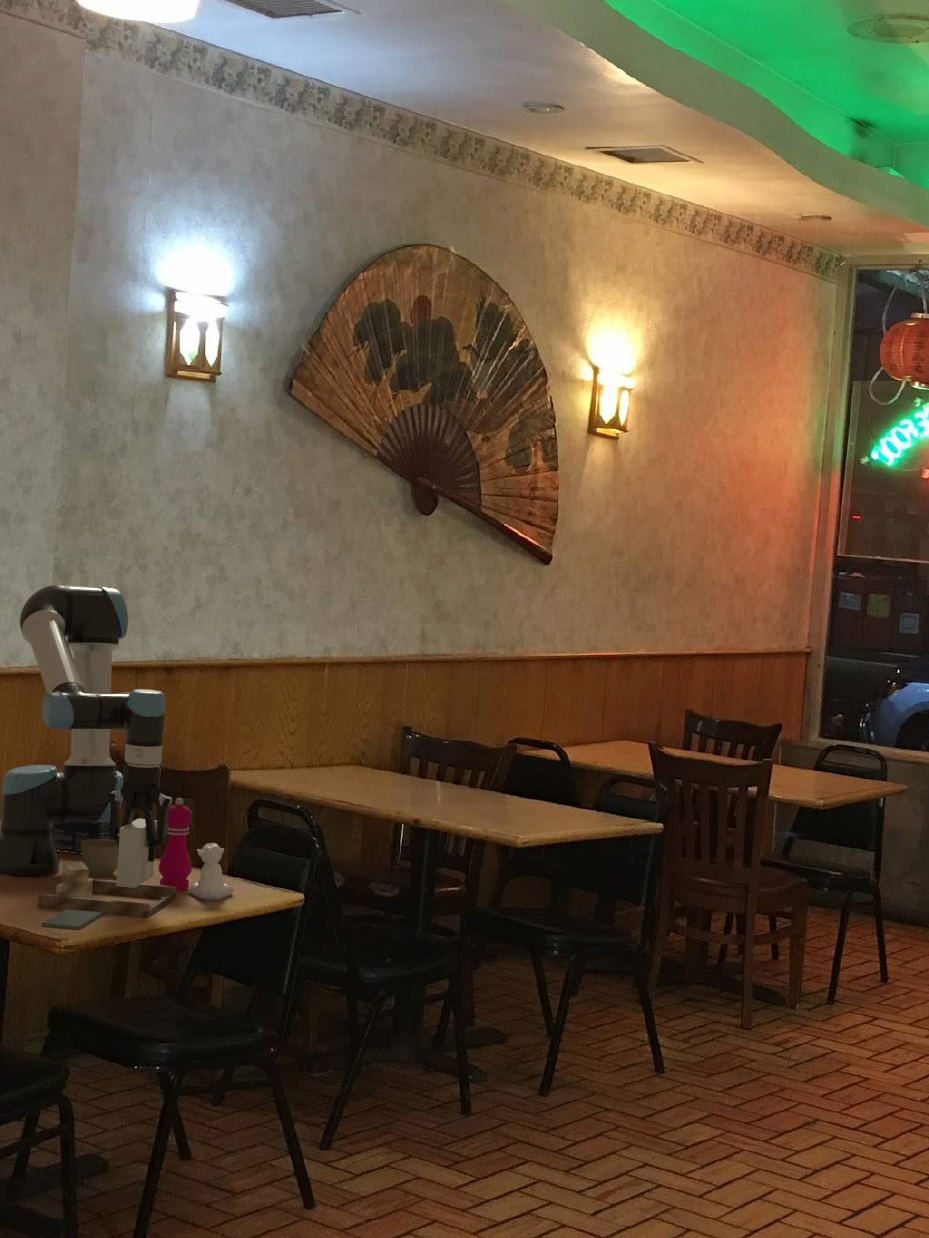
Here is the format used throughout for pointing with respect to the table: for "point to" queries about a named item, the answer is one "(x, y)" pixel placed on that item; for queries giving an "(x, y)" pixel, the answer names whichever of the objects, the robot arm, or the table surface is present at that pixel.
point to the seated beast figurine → (211, 875)
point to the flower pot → (100, 856)
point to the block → (132, 854)
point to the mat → (72, 919)
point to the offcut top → (75, 874)
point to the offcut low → (75, 889)
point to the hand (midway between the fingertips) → (135, 875)
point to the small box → (78, 834)
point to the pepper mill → (176, 848)
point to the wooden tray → (112, 905)
